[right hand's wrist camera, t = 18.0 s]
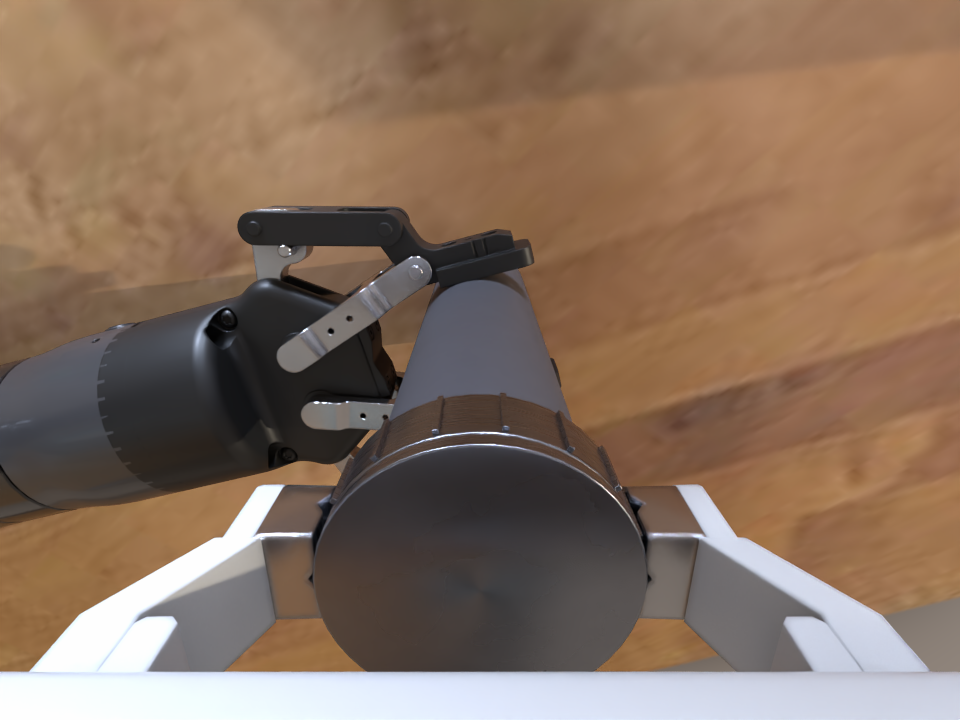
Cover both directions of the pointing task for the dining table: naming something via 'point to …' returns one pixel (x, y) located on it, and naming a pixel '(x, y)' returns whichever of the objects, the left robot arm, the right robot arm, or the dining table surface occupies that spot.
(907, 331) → the dining table surface
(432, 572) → the lid
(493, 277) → the dark grey cylinder
